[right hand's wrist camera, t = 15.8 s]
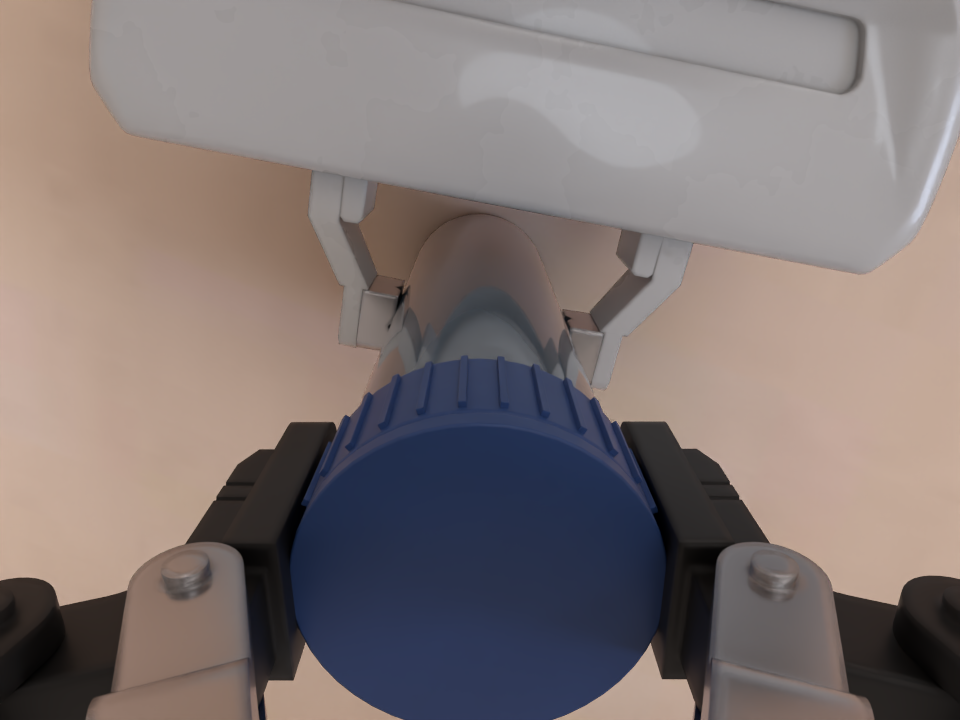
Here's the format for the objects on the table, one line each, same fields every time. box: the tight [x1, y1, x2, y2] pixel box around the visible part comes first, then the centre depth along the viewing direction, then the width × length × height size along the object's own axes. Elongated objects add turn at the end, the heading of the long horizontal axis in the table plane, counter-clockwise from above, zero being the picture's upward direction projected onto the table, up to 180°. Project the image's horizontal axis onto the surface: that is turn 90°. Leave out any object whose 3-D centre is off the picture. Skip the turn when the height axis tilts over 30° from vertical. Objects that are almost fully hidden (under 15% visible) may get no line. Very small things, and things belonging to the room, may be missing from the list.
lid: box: [290, 355, 666, 720], centre depth 10 cm, size 5×5×2 cm
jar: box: [359, 214, 595, 406], centre depth 17 cm, size 5×5×16 cm
